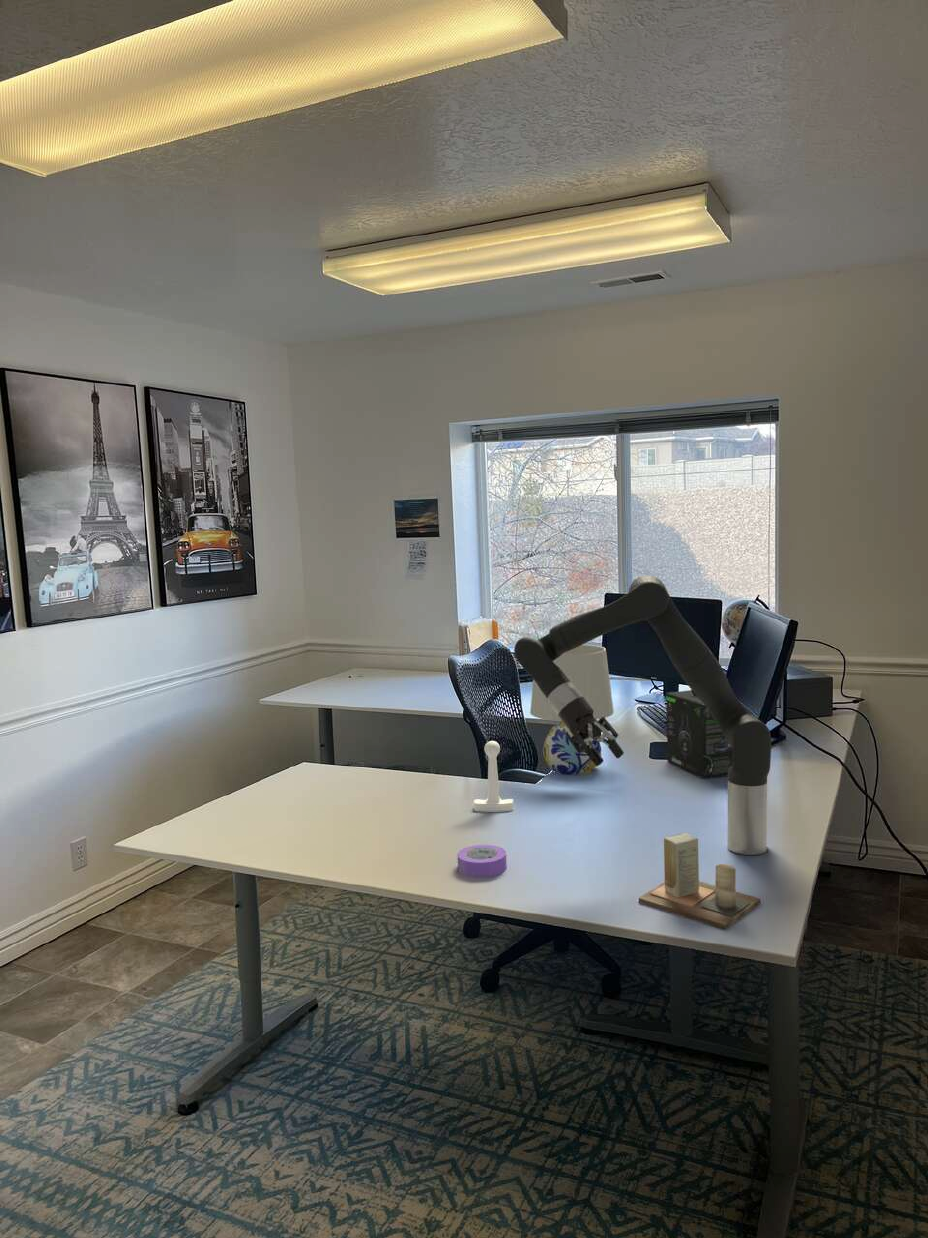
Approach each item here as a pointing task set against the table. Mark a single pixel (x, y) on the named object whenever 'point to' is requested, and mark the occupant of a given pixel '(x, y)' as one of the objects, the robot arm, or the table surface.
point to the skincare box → (681, 865)
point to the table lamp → (593, 683)
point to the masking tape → (482, 861)
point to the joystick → (493, 785)
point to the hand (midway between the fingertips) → (610, 760)
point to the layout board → (707, 900)
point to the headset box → (695, 737)
